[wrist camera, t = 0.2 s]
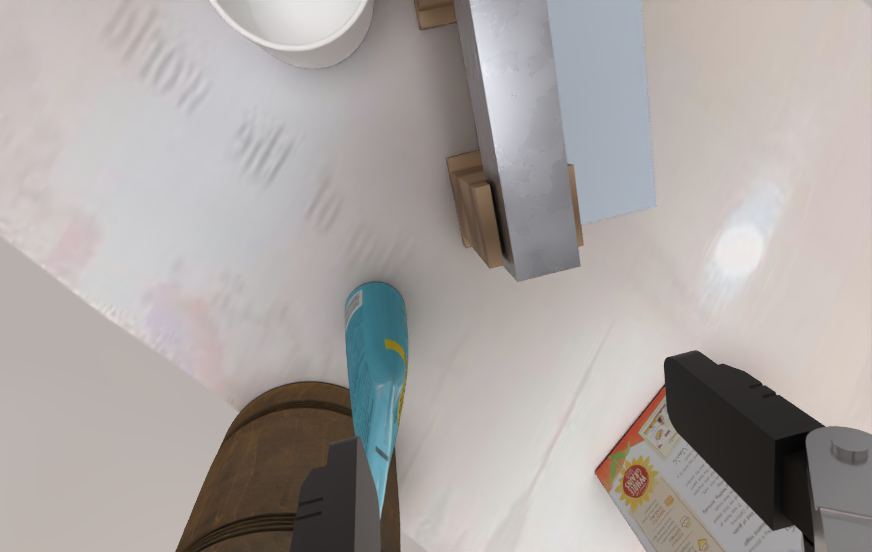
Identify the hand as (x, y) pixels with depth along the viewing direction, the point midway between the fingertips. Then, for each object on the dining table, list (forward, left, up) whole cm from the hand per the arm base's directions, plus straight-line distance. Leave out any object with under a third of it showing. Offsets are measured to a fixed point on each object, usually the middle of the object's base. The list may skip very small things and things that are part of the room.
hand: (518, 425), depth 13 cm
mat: (-7, +15, -28) cm, 33 cm away
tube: (+7, -5, -28) cm, 29 cm away
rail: (-8, +6, -20) cm, 23 cm away
